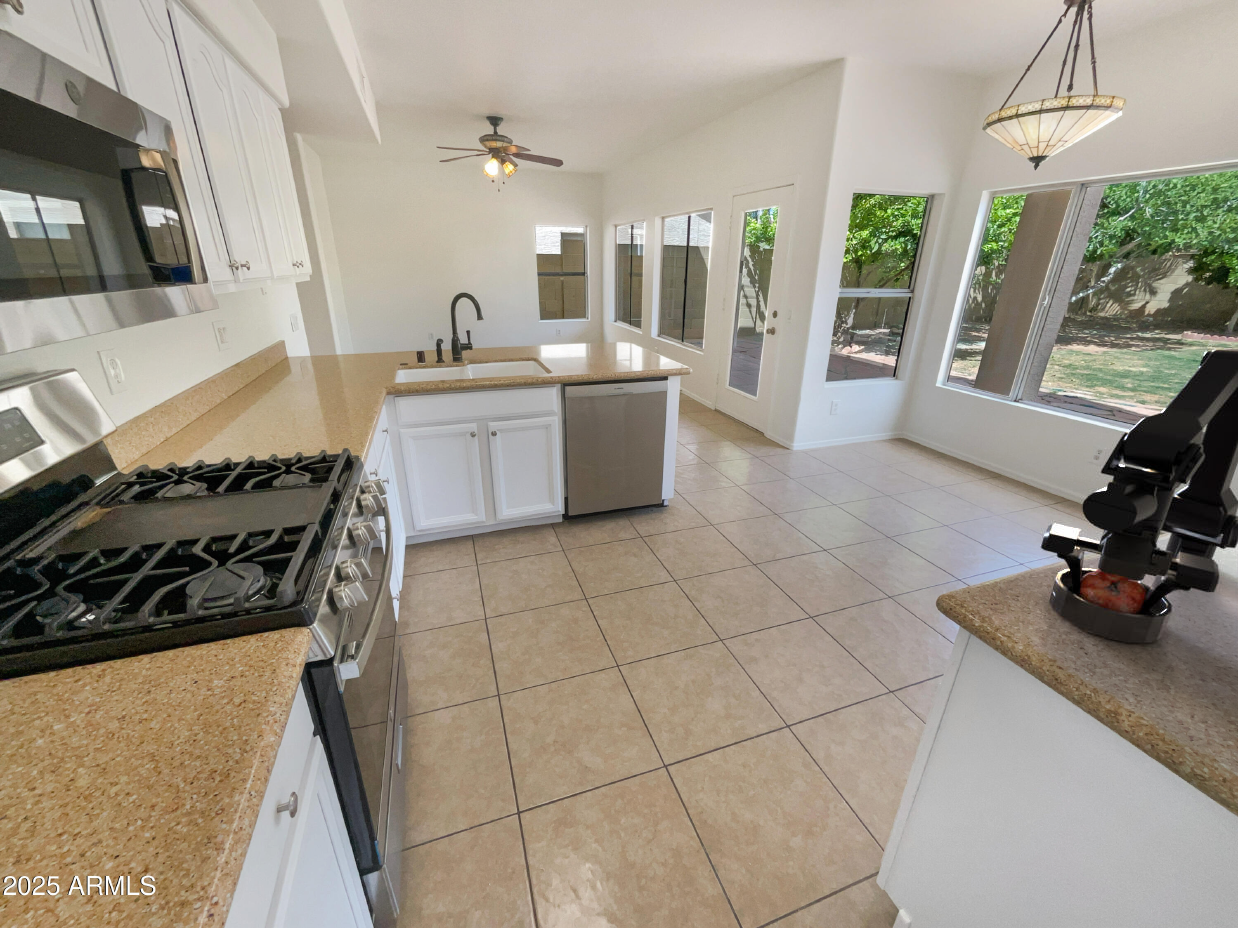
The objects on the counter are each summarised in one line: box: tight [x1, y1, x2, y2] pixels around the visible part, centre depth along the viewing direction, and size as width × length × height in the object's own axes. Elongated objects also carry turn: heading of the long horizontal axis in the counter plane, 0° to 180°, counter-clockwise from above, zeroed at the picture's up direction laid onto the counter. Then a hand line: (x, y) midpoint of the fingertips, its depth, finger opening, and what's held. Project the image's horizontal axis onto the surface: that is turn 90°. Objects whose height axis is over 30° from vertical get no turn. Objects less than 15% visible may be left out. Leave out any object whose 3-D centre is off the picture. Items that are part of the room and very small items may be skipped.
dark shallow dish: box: [1048, 568, 1173, 644], centre depth 80 cm, size 13×13×5 cm
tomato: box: [1080, 569, 1146, 614], centre depth 79 cm, size 7×7×10 cm
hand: (1107, 601), depth 80 cm, fingers closed on tomato, 7 cm apart
